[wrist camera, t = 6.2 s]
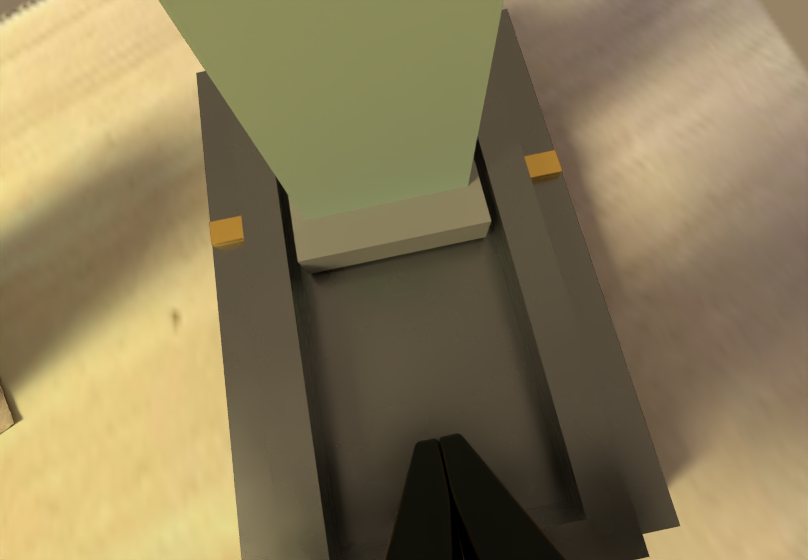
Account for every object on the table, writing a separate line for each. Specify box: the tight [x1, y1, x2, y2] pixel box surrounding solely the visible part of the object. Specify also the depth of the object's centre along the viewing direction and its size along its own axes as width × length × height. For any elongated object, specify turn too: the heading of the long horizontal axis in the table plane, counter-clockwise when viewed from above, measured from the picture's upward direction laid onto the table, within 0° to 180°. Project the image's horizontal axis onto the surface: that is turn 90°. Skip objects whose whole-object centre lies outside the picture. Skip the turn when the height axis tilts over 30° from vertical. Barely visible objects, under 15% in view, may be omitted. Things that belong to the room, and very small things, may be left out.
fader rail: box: [196, 9, 680, 560], centre depth 15 cm, size 18×12×4 cm, turn 12°
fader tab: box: [159, 0, 504, 274], centre depth 10 cm, size 5×6×11 cm
